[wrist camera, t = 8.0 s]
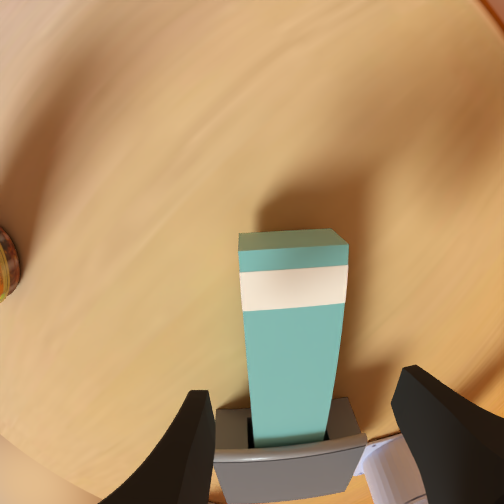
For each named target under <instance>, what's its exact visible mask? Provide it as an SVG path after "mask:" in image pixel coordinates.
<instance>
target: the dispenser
mask: <svg viewBox="0 0 504 504" xmlns="http://www.w3.org/2000/svg"><path fill="white" fill-rule="evenodd" d="M215 424H216V439H215V455H214V462H213V466H214V469H215V472H216V474H217V477H218V480H219V483H220V486H221V488H222V491H223V494H224V496H225V499H226V502H227V504H251V503H269V502H280V501H290V500H298V499H306V498H312V497H318V496H324V495H330V494H335V493H340V492H344V491H345V490H346V488H347V486H348V484H349V482H350V480H351V478H352V476H353V474H354V472H355V469H356V467H357V465H358V463H359V461H360V459H361V456H362V454H363V452H364V449H365V447H366V444H367V436H366V434H365V433H362V434H361V431H360V429H359V426H358V423H357V421H356V418H355V415H354V413H353V410H352V408H351V405H350V402H349V400H348V397H345V398H339V399H333V400H331V405H330V410H329V415H328V420H327V425H326V430H325V435H324V439H323V441H320V442H313V443H306V444H299V445H290V446H280V447H269V448H255V445H254V434H253V423H252V413H251V408H247V409H216V419H215Z"/></svg>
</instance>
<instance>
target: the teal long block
mask: <svg viewBox="0 0 504 504" xmlns="http://www.w3.org/2000/svg"><path fill="white" fill-rule="evenodd" d="M238 253H239V267H240V269H239V273H240V286H241V299H242V311H243V319H244V331H245V344H246V356H247V367H248V379H249V390H250V402H251V413H252V423H253V434H254V445H255V448H269V447H280V446H290V445H299V444H306V443H313V442H320V441H323V439H324V435H325V430H326V425H327V420H328V415H329V410H330V405H331V399H332V394H333V388H334V382H335V376H336V369H337V363H338V356H339V349H340V341H341V333H342V324H343V315H344V305H345V300H346V289H347V277H348V254H349V244H348V243H347V242H346V241H345V240H344V239H342V238H341V237H340V236H339V235H338V234H337V233H336V232H335V231H334V230H332V229H331V228H329V229H309V230H290V231H272V232H255V233H239V246H238Z"/></svg>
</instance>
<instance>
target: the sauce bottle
mask: <svg viewBox="0 0 504 504" xmlns="http://www.w3.org/2000/svg"><path fill="white" fill-rule="evenodd" d="M19 277H20V269H19V259H18V256H17V251H16V250H15V245H14V244H13V243H12V241H11V239H10V238H9V236H8V234H7V233H6V232H5V231H4V230H3V228H1V227H0V303H1V302H2V301H4V299H5V298H6V297H7V296H8V295H10V294H11V293H12V292H13V291H14V290H15V289H16V287H17V285H18V283H19Z"/></svg>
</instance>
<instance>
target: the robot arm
mask: <svg viewBox="0 0 504 504" xmlns="http://www.w3.org/2000/svg"><path fill="white" fill-rule="evenodd" d="M391 406H392V409H393V412H394V416H395V419H396V421H397V424H398V427H399V429H400V431H401V434H398V435H394V436H391V437H387V438H384V439H380V440H376V441H372V442H369V443H367V444H366V447H365V449H364V452H363V454H362V456H361V459H360V461H359V463H358V465H357V467H356V469H355V472H354V474H353V476H358V475H362V474H365V477H366V480H367V483H368V486H369V489H370V492H371V495H372V499H373V502H374V504H504V418H502V417H499V416H497V415H495V414H493V413H491V412H488V411H486V410H484V409H482V408H481V407H479V406H477V405H475V404H474V403H472V402H470V401H469V400H467V399H465V398H464V397H462V396H461V395H459V394H458V393H456V392H455V391H453V390H452V389H450V388H449V387H447V386H446V385H444V384H443V383H442V382H440V381H439V380H437V379H436V378H435V377H433V376H432V375H430V374H429V373H428V372H426V371H425V370H423V369H422V368H420V367H419V366H417V365H412V366H408V367H404V368H403V369H402V372H401V375H400V378H399V381H398V384H397V387H396V390H395V393H394V395H393V398H392V401H391ZM215 439H216V424H215V420H214V415H213V411H212V406H211V401H210V397H209V392H208V390H191V391H189V392H188V394H187V397H186V399H185V400H184V402H183V404H182V406H181V408H180V410H179V412H178V413H177V415H176V417H175V418H174V420H173V422H172V423H171V425H170V426H169V428H168V430H167V431H166V433H165V434H164V436H163V437H162V439H161V440H160V441H159V443H158V444H157V445H156V447H155V448H154V449H153V451H152V452H151V453H150V455H149V456H148V457H147V458H146V460H145V461H144V462H143V463H142V464H141V465H140V466H139V468H138V469H137V470H136V471H135V472H134V473H133V474H132V475H131V476H130V477H129V478H128V479H127V480H126V481H125V482H124V483H123V484H122V485H121V486H120V487H118V488H117V489H116V490H115V491H114V492H113V493H111V494H110V495H109V496H107V497H106V498H105V499H103V500H102V501H101V502H100V503H98V504H208V499H209V491H210V484H211V476H212V469H213V462H214V455H215Z"/></svg>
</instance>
